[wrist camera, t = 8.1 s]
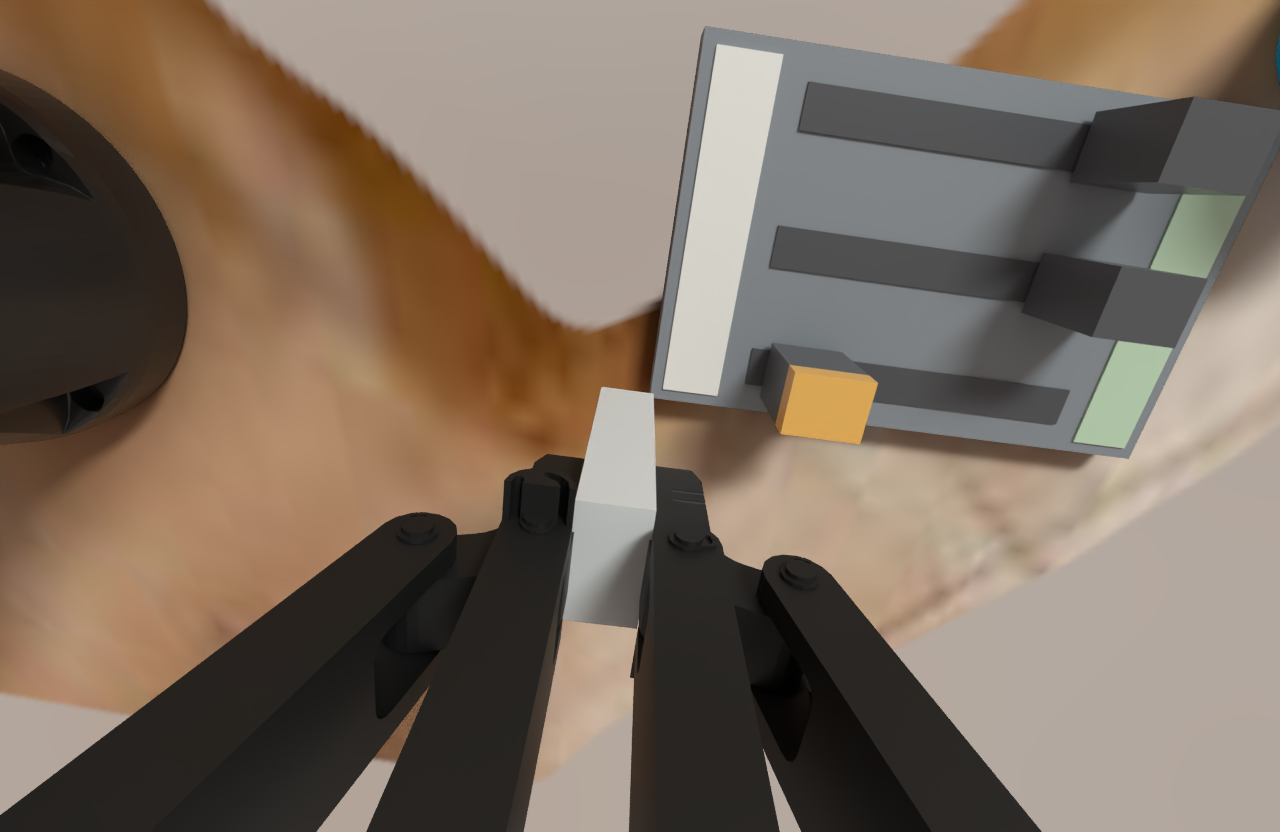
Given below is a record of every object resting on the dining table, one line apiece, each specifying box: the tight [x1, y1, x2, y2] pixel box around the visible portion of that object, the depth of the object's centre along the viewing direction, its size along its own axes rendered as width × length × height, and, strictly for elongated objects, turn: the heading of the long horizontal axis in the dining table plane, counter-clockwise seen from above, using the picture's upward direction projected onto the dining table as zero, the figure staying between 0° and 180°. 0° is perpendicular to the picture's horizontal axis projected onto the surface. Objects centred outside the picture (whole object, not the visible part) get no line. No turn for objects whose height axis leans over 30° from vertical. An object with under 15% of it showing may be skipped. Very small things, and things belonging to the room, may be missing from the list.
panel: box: [649, 26, 1280, 459], centre depth 25 cm, size 22×14×2 cm, turn 82°
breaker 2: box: [1021, 253, 1208, 349], centre depth 22 cm, size 3×2×4 cm
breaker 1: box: [1070, 97, 1280, 196], centre depth 20 cm, size 3×2×4 cm
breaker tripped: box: [760, 343, 878, 444], centre depth 23 cm, size 3×2×4 cm
